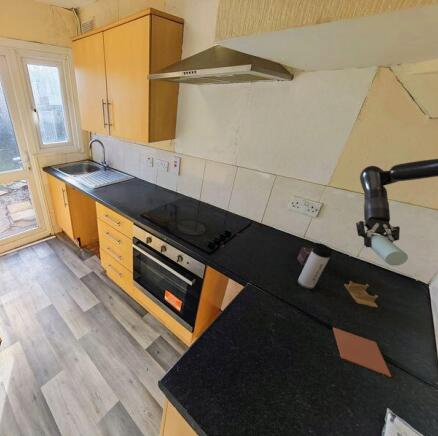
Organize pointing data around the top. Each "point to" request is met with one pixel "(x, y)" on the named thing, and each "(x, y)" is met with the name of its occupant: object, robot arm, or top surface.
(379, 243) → the pale blue bottle
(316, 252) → the travel mug
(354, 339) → the plate
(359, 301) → the drying stand
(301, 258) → the box
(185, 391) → the top surface
